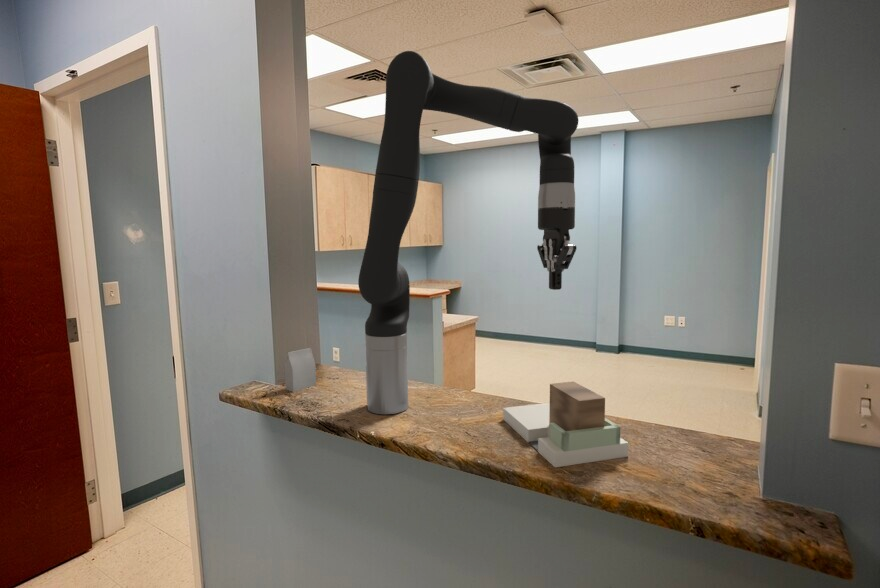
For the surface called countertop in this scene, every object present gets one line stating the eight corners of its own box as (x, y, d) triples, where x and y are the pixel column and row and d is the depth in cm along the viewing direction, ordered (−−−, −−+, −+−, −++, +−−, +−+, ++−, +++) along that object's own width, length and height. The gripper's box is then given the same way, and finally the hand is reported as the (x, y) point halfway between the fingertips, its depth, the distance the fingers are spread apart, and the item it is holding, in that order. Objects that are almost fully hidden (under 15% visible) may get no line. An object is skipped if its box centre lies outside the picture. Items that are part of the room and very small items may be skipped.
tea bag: (316, 386, 123) (314, 348, 122) (293, 392, 118) (291, 353, 117) (308, 383, 125) (306, 347, 124) (285, 389, 120) (283, 351, 119)
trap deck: (503, 419, 98) (503, 394, 97) (563, 412, 102) (563, 387, 101) (554, 467, 77) (555, 435, 76) (628, 456, 80) (629, 425, 80)
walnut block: (549, 424, 88) (549, 383, 88) (572, 421, 90) (573, 381, 89) (578, 446, 79) (579, 400, 78) (604, 443, 80) (605, 398, 79)
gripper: (526, 209, 103) (525, 287, 105) (555, 203, 90) (554, 293, 92) (556, 209, 105) (555, 286, 106) (590, 204, 92) (588, 291, 94)
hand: (555, 289), depth 99 cm, fingers closed
